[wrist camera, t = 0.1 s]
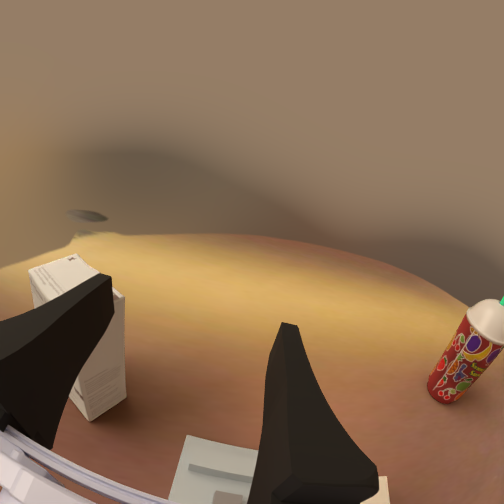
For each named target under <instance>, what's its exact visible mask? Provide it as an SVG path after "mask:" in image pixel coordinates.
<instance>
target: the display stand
mask: <svg viewBox="0 0 504 504" xmlns="http://www.w3.org/2000/svg"><path fill="white" fill-rule="evenodd" d="M257 456H258V450H252V449H247V448H242V447H237V446H232V445H227V444H223V443H218V442H214V441H210V440H206V439H202V438H198V437H194V436H190V435H187V436H186V440H185V443H184V447H183V450H182V454H181V457H180V460H179V464H178V467H177V471H176V474H175V478H174V481H173V485H172V488H171V492H170V495H169V498H168V500H169V501H173V502H176V503H180V504H247V501H248V497H249V493H250V489H251V484H252V480H253V475H254V471H255V466H256V461H257Z"/></svg>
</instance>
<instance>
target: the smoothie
mask: <svg viewBox="0 0 504 504" xmlns="http://www.w3.org/2000/svg"><path fill="white" fill-rule="evenodd" d="M503 348H504V297H503V298H502V300H501V301H499V300H495V299H486V300H483V301H481V302H479V303H477V304H476V305H474V306H473V307H471V308H468V310H467V312H466V315H465V316H464V318H463V320H462V322H461V324H460V326H459V327H458V329H457V331H456V333H455V335H454V336H453V338H452V340H451V341H450V343H449V345H448V347H447V348H446V350H445V352H444V353H443V355H442V356H441V358H440V360H439V361H438V363H437V364H436V366H435V367H434V369H433V371H432V372H431V374H430V375H429V381H428V385H427V387H428V391H429V392H430V394H431V395H432V397H433V398H434V399H436V400H437V401H438V402H441V403H445V404H448V403H451V402H452V401H456V400H458V399H459V398H460V397H461V396H462V395H463V394H464V393H465V392H466V391H467V390H468V388H469V387H470V386H471V385H472V384H473V383H474V382H475V381H476V380H477V379H478V378H479V377H480V375H481V374H482V373H483V372H484V371H485V370H486V369H487V367H488V366H489V365H490V364H491V363H492V362H493V360H494V359H495V358H496V357H497V356H498V354H499V353H500V352H501V351H502V349H503Z"/></svg>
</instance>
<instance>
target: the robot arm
mask: <svg viewBox="0 0 504 504" xmlns="http://www.w3.org/2000/svg"><path fill="white" fill-rule="evenodd" d="M114 313H115V309H114V300H113V289H112V278H111V276H108V275H104V274H101V273H98V274H97V275H95V276H93V277H91V278H89V279H88V280H86V281H84V282H82V283H81V284H79V285H77V286H76V287H74V288H72V289H70V290H69V291H67V292H65V293H64V294H62V295H60V296H58V297H56V298H54V299H53V300H51V301H49V302H47V303H45V304H43V305H41V306H39V307H37V308H35V309H33V310H30V311H28V312H26V313H23V314H21V315H18V316H15V317H12V318H9V319H6V320H4V321H0V485H1V486H2V487H3V488H2V490H1V493H0V504H97V503H95V502H92V501H90V500H88V499H86V498H84V497H82V496H80V495H78V494H76V493H74V492H71V491H69V490H67V489H66V488H65V486H64V484H62V483H61V482H59V481H58V480H56V479H55V478H54V477H53V476H52V475H50V474H49V473H48V471H47V470H45V469H44V468H42V467H41V466H39V465H38V464H36V463H35V462H33V461H32V460H31V459H30V458H32V459H33V460H35V461H36V462H38V463H40V464H41V465H43V466H45V467H47V468H48V469H50V470H52V471H54V472H55V473H57V474H59V475H61V476H63V477H65V478H67V479H69V480H70V481H72V482H74V483H76V484H78V485H81V486H83V487H85V488H87V489H89V490H91V491H93V492H96V493H98V494H100V495H102V496H105V497H107V498H110V499H112V500H114V501H117V502H119V503H122V504H180V503H176V502H173V501H169V500H166V499H163V498H159V497H156V496H153V495H150V494H147V493H144V492H141V491H138V490H135V489H133V488H130V487H127V486H125V485H122V484H119V483H117V482H114V481H112V480H110V479H107V478H105V477H102V476H100V475H98V474H96V473H93V472H91V471H89V470H87V469H85V468H83V467H81V466H78V465H76V464H74V463H72V462H70V461H68V460H67V459H65V458H63V457H61V456H59V455H57V454H55V453H53V452H52V451H50V449H52V448H53V443H54V439H55V435H56V432H57V428H58V425H59V422H60V419H61V416H62V413H63V410H64V407H65V404H66V402H67V399H68V397H69V394H70V392H71V390H72V387H73V385H74V383H75V381H76V379H77V376H78V375H79V373H80V371H81V369H82V367H83V366H84V364H85V363H86V361H87V360H88V358H89V356H90V355H91V353H92V352H93V350H94V349H95V347H96V346H97V344H98V343H99V341H100V339H101V338H102V336H103V335H104V333H105V332H106V330H107V328H108V326H109V324H110V322H111V319H112V317H113V315H114ZM29 457H30V458H29ZM378 491H379V477H378V472H377V467H376V465H375V464H374V463H373V462H372V461H371V460H370V459H369V458H368V457H367V456H366V455H365V454H364V453H363V452H362V451H361V450H360V449H359V447H358V446H357V445H356V444H355V443H354V441H353V440H352V439H351V438H350V436H349V435H348V433H347V432H346V431H345V429H344V428H343V426H342V425H341V424H340V422H339V421H338V419H337V418H336V416H335V415H334V413H333V411H332V410H331V408H330V406H329V404H328V403H327V401H326V399H325V397H324V395H323V393H322V391H321V389H320V387H319V385H318V383H317V380H316V378H315V376H314V373H313V371H312V368H311V366H310V363H309V361H308V358H307V355H306V352H305V349H304V346H303V343H302V339H301V336H300V332H299V328H298V326H297V325H293V324H288V323H284V322H282V323H281V326H280V328H279V331H278V334H277V336H276V339H275V342H274V344H273V347H272V350H271V352H270V355H269V360H268V366H267V372H266V379H265V395H264V412H263V426H262V434H261V440H260V445H259V451H258V456H257V461H256V466H255V471H254V475H253V480H252V484H251V489H250V493H249V497H248V501H247V504H360V503H361V502H363V501H365V500H367V499H369V498H371V497H373V496H374V495H376V494H377V493H378Z"/></svg>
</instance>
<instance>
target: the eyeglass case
mask: <svg viewBox="0 0 504 504" xmlns="http://www.w3.org/2000/svg"><path fill="white" fill-rule="evenodd" d="M360 504H390V501H389V492H388V483H387V476H382V477H379V491H378V493H377V494H376V495H374V496H373V497H371V498H369V499H367V500H365V501H363V502H361V503H360Z"/></svg>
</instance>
